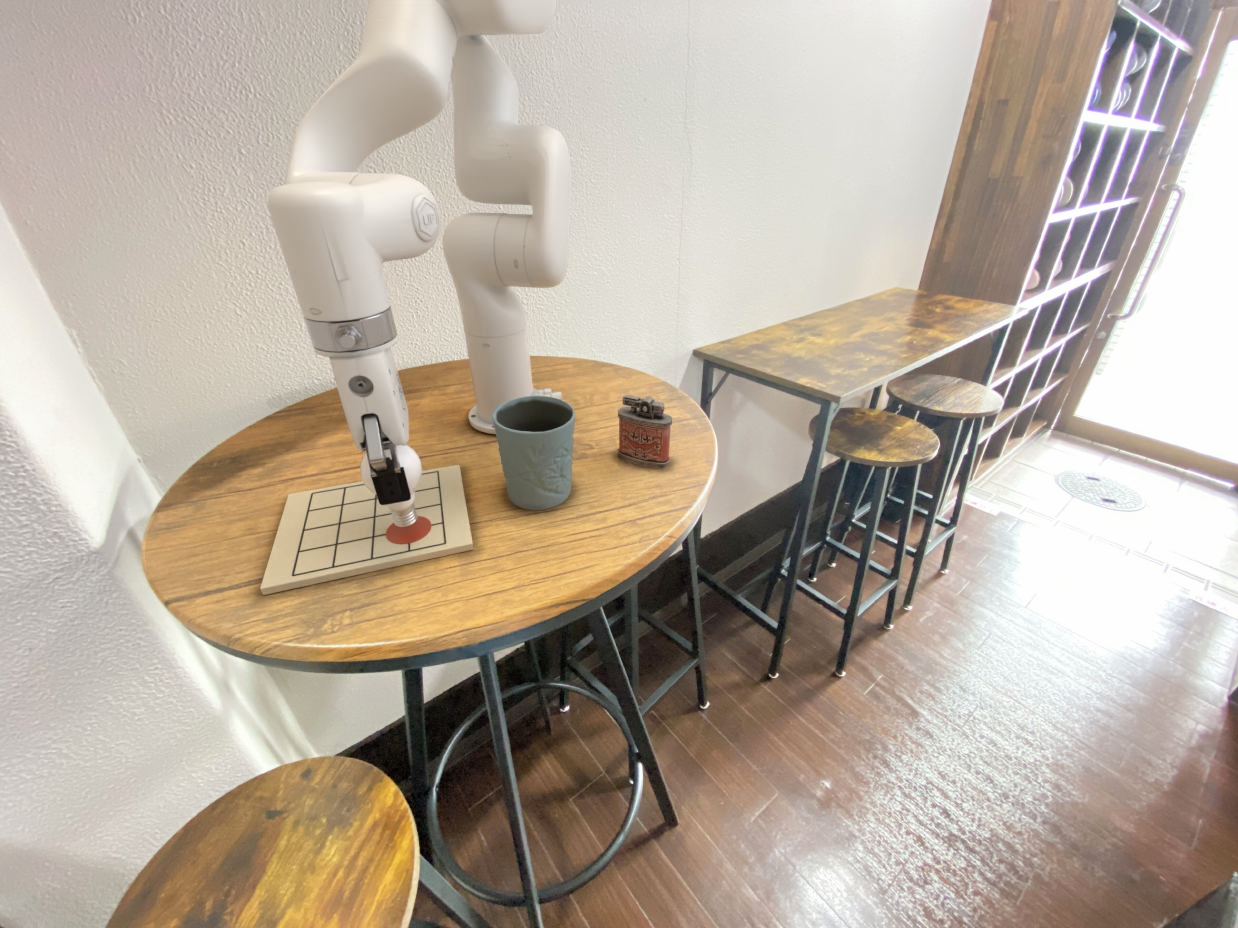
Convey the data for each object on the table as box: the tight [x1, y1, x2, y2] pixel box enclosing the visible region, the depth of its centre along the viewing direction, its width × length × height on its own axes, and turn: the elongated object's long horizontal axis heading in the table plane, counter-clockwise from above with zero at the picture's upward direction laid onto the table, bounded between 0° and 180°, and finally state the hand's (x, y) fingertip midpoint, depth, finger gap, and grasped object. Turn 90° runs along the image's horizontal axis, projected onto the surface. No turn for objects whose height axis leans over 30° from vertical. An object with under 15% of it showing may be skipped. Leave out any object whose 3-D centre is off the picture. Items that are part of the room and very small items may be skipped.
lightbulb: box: [359, 441, 423, 527], centre depth 61 cm, size 6×6×11 cm
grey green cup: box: [492, 396, 576, 511], centre depth 69 cm, size 10×10×12 cm
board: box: [259, 464, 474, 596], centre depth 66 cm, size 22×18×1 cm
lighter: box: [617, 394, 673, 469], centre depth 77 cm, size 8×3×10 cm, turn 65°
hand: (395, 482), depth 60 cm, fingers closed on lightbulb, 6 cm apart
